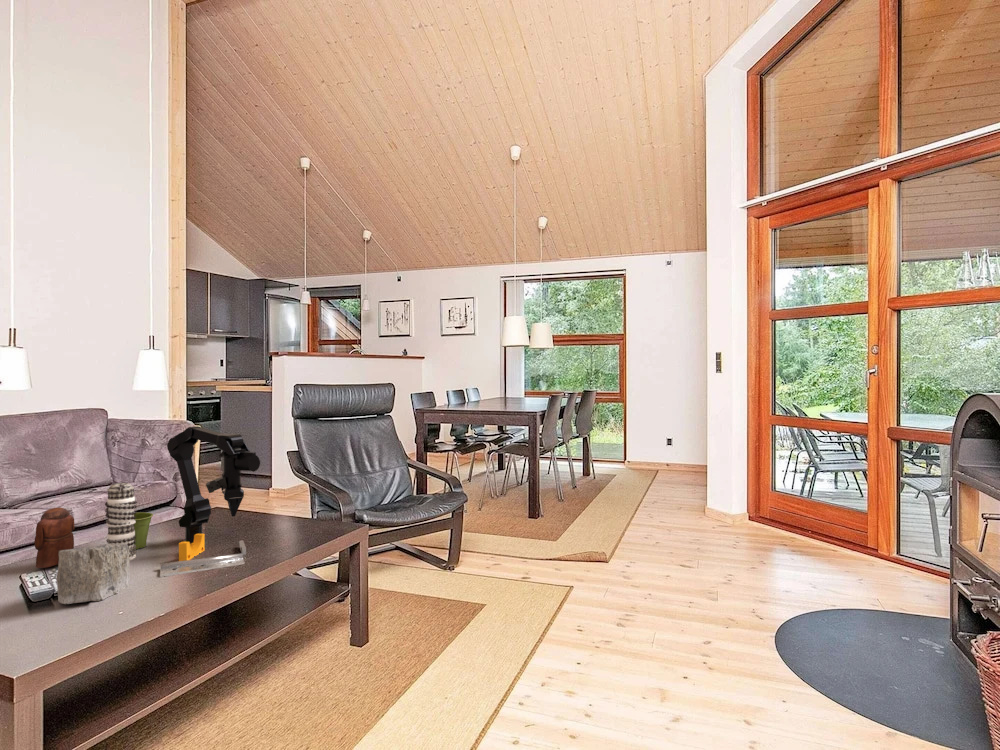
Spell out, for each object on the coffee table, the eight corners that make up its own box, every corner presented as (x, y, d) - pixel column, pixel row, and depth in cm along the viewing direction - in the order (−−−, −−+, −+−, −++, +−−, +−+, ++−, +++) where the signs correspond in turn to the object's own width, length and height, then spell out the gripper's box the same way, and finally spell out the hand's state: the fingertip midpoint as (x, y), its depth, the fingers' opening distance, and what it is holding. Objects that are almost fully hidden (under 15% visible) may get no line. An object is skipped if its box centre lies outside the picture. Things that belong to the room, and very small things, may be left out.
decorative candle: (118, 563, 200) (118, 487, 200) (98, 561, 203) (98, 485, 203) (143, 556, 208) (143, 482, 208) (123, 553, 212) (123, 480, 211)
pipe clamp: (192, 552, 214) (192, 533, 214) (204, 552, 214) (204, 533, 214) (173, 562, 202) (173, 543, 202) (186, 562, 202) (186, 543, 202)
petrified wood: (120, 577, 186) (119, 528, 186) (143, 590, 175) (142, 538, 175) (45, 595, 172) (45, 542, 172) (65, 610, 161) (65, 553, 161)
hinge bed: (161, 558, 205) (161, 550, 205) (243, 548, 217) (243, 540, 217) (159, 577, 187) (159, 567, 187) (248, 564, 199) (248, 555, 199)
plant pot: (118, 554, 210) (118, 521, 210) (111, 547, 219) (111, 515, 219) (156, 547, 218) (156, 516, 218) (149, 541, 227) (149, 510, 227)
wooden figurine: (58, 557, 207) (58, 504, 207) (76, 557, 206) (76, 504, 206) (29, 568, 195) (29, 512, 195) (48, 569, 195) (48, 512, 195)
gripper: (206, 468, 223) (206, 510, 223) (208, 475, 207) (208, 521, 207) (239, 465, 228) (239, 507, 228) (243, 473, 212) (244, 518, 212)
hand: (232, 513), depth 219 cm, fingers open, 9 cm apart
